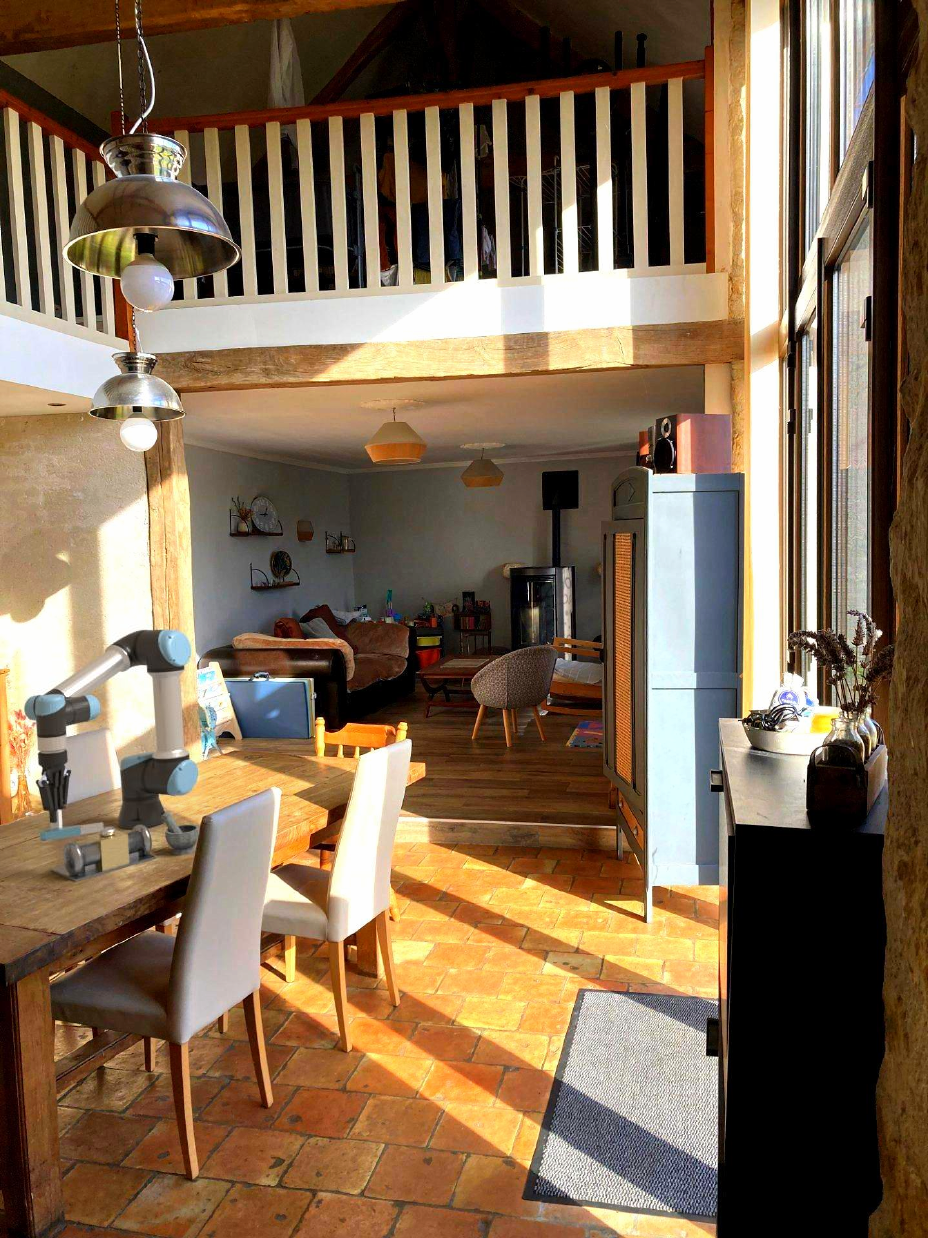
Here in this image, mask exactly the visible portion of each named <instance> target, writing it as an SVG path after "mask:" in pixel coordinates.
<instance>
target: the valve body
mask: <svg viewBox="0 0 928 1238" xmlns="http://www.w3.org/2000/svg"><path fill="white" fill-rule="evenodd" d="M115 831H116V834H114V835H112V836H106V837H102V836H99V832H96V833H92V834H90V835H87V838H86V839H87V843H85V844H81V845H79V844H78V843H77V842H76V841H70V842H67V843H65V845H64V847H63V849H62V859H63V864H64V865H60V866H56V867H51V868H50V870H51V872H53V873H54V874H58V875H59V876H63V877H64V878H66V879H69V880H71V881H73V882H80V881H82V880H86V879H91V878H94V877H97V876H100V875H103V874H106V873H111V872H113V871H117V870H121V869H124V868H128V867H132V866H135V865H137V864H142V863H145V862H147V861H153V860H155V859H156V858H157V856H156V855H153V854H150V853H151V851H152V848H153V847H152V845H153V840H152V836H151V835H152V834H151V833H150V830H149V827H148V828H147V827H146V826H145V825H143V824H140V825H136V826H134V828H133V829H131V831H130V832H127V833H126V832H124V831H121V830H117V829H115Z"/></svg>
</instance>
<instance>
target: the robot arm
mask: <svg viewBox="0 0 928 1238" xmlns="http://www.w3.org/2000/svg"><path fill="white" fill-rule="evenodd" d="M191 656H192V646H191V642H190V640H189V638H188V637H187V636H186V635H185V634H184V633H183V632H181V631H179V630H175V629H167V628H166V629H140V630H136V631H133V632H131V633H130V632H129V634H127V635H124V636H123V637H121V638H119V639H117V640H116V641H114V642H113V643H112V644H110V645H109V646H107V647H106V648H105V650H104V653H102V654H101V655H99V656H98V657H97V658H95V659H93V660H92V661H91V662H89V663H88V664H86V665H84V667H82V668H81V669H79V670H78V671H76V672H74V673H73V674H72V675H71V676H69V677H68V678H66V679H65V680H63V681H62V682H60V683H59V684H58V685H56V686H54V687H53V688H51V689H50V690H48V691H47V692H45V693H44V694H42V695H41V694H38V695H37V694H36V695H33V696H30V697H28V699H27V700H26V701H25V703H24V707H23V710H24V714H25V716H26V717H27V719H29V720H31V721H35V724H36V726H35V727H36V739H37V750H38V751H39V752H38V753H37V762H38V766H40V767H41V768H42V769H41V773H40V775H41V777H40V778H39V779H36V780H35V784H36V786H37V788H38V792H39V795H40V797H39V798H40V801H41V804H42V808H43V809H42V810H43V812H48V813H49V823H50V829H55V828H61V827H63V810H65V809H66V807H67V806H66V805H67V804H68V796H69V784H70V778H71V774H72V770H71V769H66V765H65V764H67V763H68V760H69V759H68V750H67V748H68V742H67V741H68V737H67V727H69V726H72V725H77V724H82V723H85V722H86V723H89V722H91V721H93V720H95V719H97V718H98V717H99V716H100V713H101V704H100V702H99V701H100V700H99V699H98V698H97V697H96V696H94V695H91V693H92V692H93V691H94V690H96V689H97V688H100V686H101V685H103V684H105V683H106V682H107V681H108V680H110V679H111V678H113V677H114V676H116V675H117V674H118V673H124V672H126V671H128V670H129V669H132V668H134V667H138V666H146V672H147V673H146V674H148V675H149V676H150V677H151V678H152V692H153V693H152V694H153V695H152V696H153V708H154V710H153V711H154V712H153V713H154V724H155V725H154V726H155V727H154V728H155V742H156V743H155V744H156V751H155V752H154V751H151V752H150V751H148V752H142V753H136V754H132V755H129V756H126V757H122V759H121V760H120V765H119V766H120V768H119V772H120V773H119V775H120V785H121V797H122V798H121V800H122V802H121V807H120V810H119V814H118V817H117V826H118V827H119V828H120V829H123V830H125V829H126V830H132V829H133V828H134V826H136V825H140V824H143V825H145V826H146V827H147V828H148V829H149V828H152V827H156V826H159V825H161V824H163V823H165V821H164V819H162V818H161V816H162V815H163V814H164V813H166V811H165V809H164V806H163V804H162V802H161V799H160V795H163V796H164V795H165V796H170V797H175V796H178V797H180V796H181V797H182V796H185V795H187V794H190V792H191V791H192V790H193V789H194V787H195V785H196V783H197V781H198V778H199V767H198V764H196V762H195V761H194V760H192V759H191V758H190V751H189V750H187V748H185V740H184V739H185V737H184V724H183V723H184V722H183V705H182V701H183V700H182V685H181V675H182V674H183V673H184V672H185V666H186V665H187V664H189V661H190V658H192V657H191Z"/></svg>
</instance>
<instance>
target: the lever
mask: <svg viewBox="0 0 928 1238" xmlns="http://www.w3.org/2000/svg"><path fill="white" fill-rule="evenodd" d="M115 830H116V827H114V826H106V827H105V826H104V822H103V821H101V822H95V823H88V824H87V823H86V824H83V825H82V824H81V825H80V824H77V825H75V824H74V825H70V826H69V825H68V826H62V827H61V828H55V829H51V828H50V829H42V830H40V831H39V836H40V837H39V838H40V839H39V840H40V841H41V842H45V841H51V840H58V839H66V838H71V837H77V836H78V837H79V836H82V835H85V834H95V833H99V836H102V837H106V836H112V835H114V834H116V831H115Z"/></svg>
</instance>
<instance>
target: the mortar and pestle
mask: <svg viewBox="0 0 928 1238" xmlns="http://www.w3.org/2000/svg"><path fill="white" fill-rule="evenodd" d="M161 818H162V819H164V821H165V822H164V823H165V825H166V827H167V828H166V830H164V834H165V835H164V836H165V840H166V843H167V844H168V846H169V847H171V848H172V854H173V855H175V856H184V855H190V854H192V853H194V851H195V845H196V844H197V841H198V838H199V837H198V835H199V836H200V826H198V825H195V824H180V825H179V824H177V822H176V821H175V819H174V818H173V817H172V814H171V812H170V811H167V812H166V811H165V813H164V814H163V815H162V816H161Z"/></svg>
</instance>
